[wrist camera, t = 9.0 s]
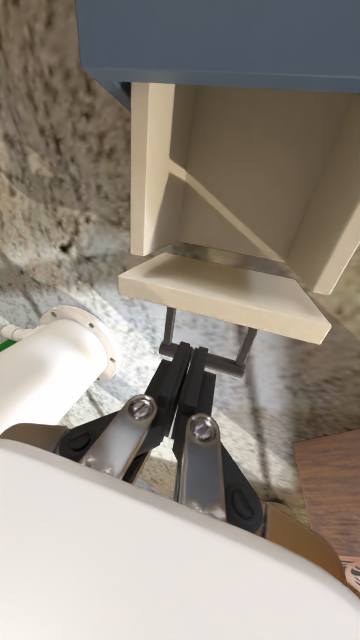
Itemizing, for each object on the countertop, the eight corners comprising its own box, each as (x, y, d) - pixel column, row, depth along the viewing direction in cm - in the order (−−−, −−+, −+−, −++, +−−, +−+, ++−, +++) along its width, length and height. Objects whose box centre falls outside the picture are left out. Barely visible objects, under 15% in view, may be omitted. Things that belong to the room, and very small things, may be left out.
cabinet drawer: (263, 348, 19) (274, 417, 13) (157, 320, 21) (120, 367, 15) (404, 39, 10) (770, -354, 3) (182, 38, 11) (101, -202, 5)
